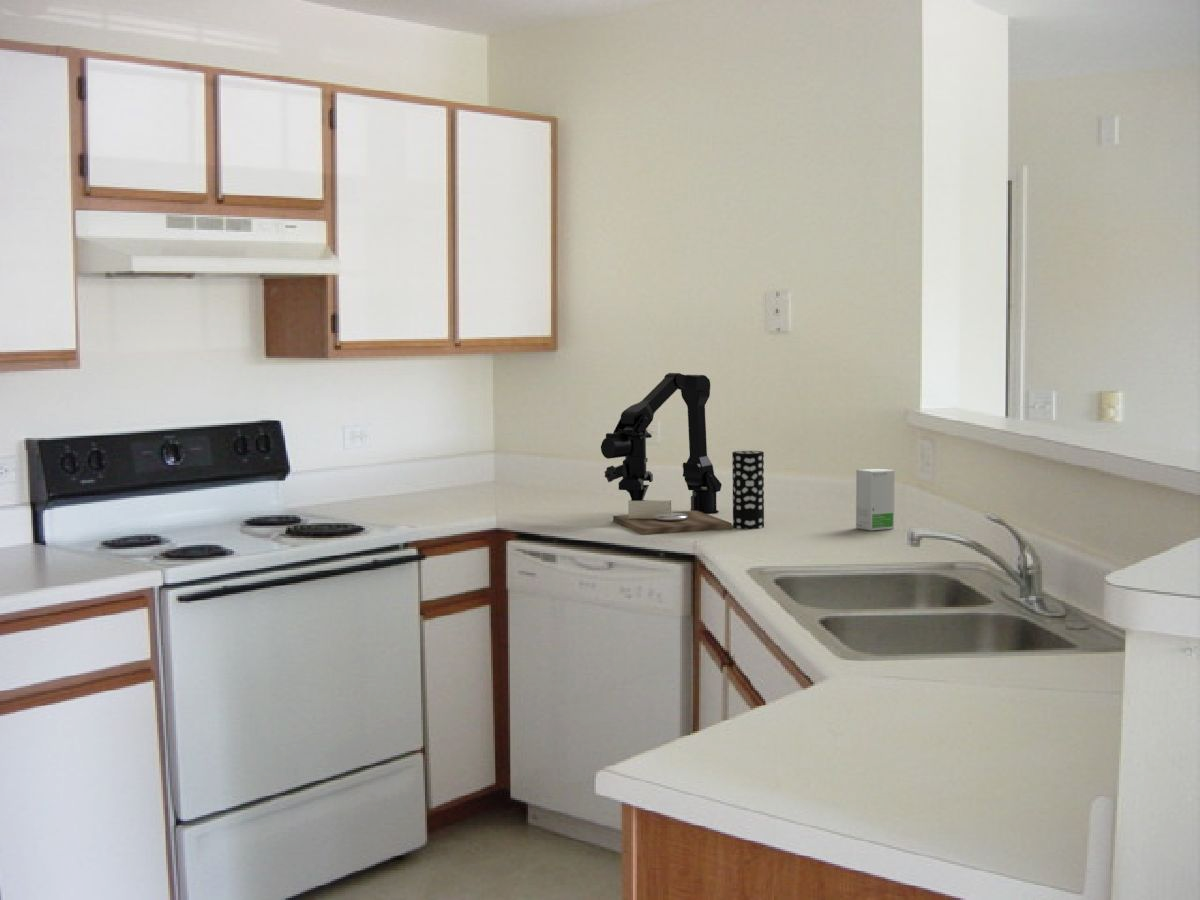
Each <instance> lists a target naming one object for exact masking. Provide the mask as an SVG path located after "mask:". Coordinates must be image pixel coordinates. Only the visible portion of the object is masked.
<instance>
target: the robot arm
mask: <svg viewBox="0 0 1200 900" xmlns="http://www.w3.org/2000/svg"><path fill="white" fill-rule="evenodd" d="M678 390H680V393H681V397H682V400H683V401H684V403H685V405H686V408H687V422H688V425H687V426H688V445H689V446H688V447H689V449H688V450H689V457H688V459H687V461H686V462H685V461H683V462H682V477H683V479H684V481H685V483H686V486H687V490H688V491H691V492H692V495H691V496H690V510H689V511H700V512H702V513H705V514H714V513H719V512H720V511H719V509H718V510H717V493H718V492H721V489H722V486H723V485H722V483H721V481H720V480H719V479H718V478H717V476H716V475H715V471H714V465H713V463H712V462H711V460H710V458H709V455H708V447H707V426H706V424H707V423H706V405H707V402H708V400H709V398H710V396H711V380H710V378H709V377H708V376H707V375H705V374H682V373H680V372H668V373H667V374H665V376H664V377H663V379H662V380H661V381H660V382H659V383H658V384H657V385H656V386H654V388H653V389H652V390H651V391H650V392H649V393H648V394H647V395H646V396H645V397H643V399H641V400H640V401H639V402H637V403H634V404H632V405H630V406H628V407H627V408H626V409H625V410H623V411H622V412H621V414H620V418H619V420H618V422H617V424H616V426H615V429H614V430H613V432H612V433H611V432H607V433H606V434H605V438H604V439H603V440H602V441H601V445H600V451H601V453H602V456H603V457H604V458H605V459H607V460H610V459H617V458H624V459H623V460H622V464H619V465H617V466H614V465H609V466H607V467H606V470H605V471H604V474H605V475H604V478H606V480H607V483H611V482H613V481H614V480H617V479H619V478H620V479H621V478H622V479H621V480H620V481H619V482H618V490H619V491H626V492H627V493H629V494H628V495H629V496H630V500H645V496H646V493H647V491H648V489H649V484H644V482H646V481H647V482H648V483H652V482H653V481H654V475H653V473H652V471H649V470H647V463H648V457H647V439H649V438H652V437H653V436H652V434H651V433H650V432H648V430H647V429H648V427H649V426H650V425H651V424H652V422H653V420H654V415H655V413H656V412H657V410H659V408H661V406H663V404H665V402H667V400H669V398H670V397H671V396H673V394H675V393H676V391H678Z"/></svg>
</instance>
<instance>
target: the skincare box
mask: <svg viewBox="0 0 1200 900" xmlns="http://www.w3.org/2000/svg"><path fill="white" fill-rule="evenodd" d="M855 473H856V478H855V479H856V480H855V482H856V485H855V486H856V488H855V490H856V491H855V492H856V493H855V497H856V498H855V500H856V501H855V508H856V509H855V528H856V529H860V530H864V531H869V532H870V531H881V530H882V531H883V530H893V529H895V469H883V468H866V469H865V468H864V469H856V470H855Z"/></svg>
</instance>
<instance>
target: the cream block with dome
mask: <svg viewBox="0 0 1200 900" xmlns="http://www.w3.org/2000/svg"><path fill="white" fill-rule="evenodd" d="M627 502H628V510H627V511H628V515H629V518H641V519H656V520H662V521H678V520H685V519H687V518H688V515H687V514H682V513H671V512H672V500H669V499H668V500H667V499H654V500H653V499H643V500H631V499H628V500H627Z"/></svg>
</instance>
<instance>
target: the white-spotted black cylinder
mask: <svg viewBox="0 0 1200 900" xmlns="http://www.w3.org/2000/svg"><path fill="white" fill-rule="evenodd" d="M764 453H765V452H764V451H761V450H737V451H736V450H735V451H733V452H732V453H731V454H732V527H733V528H735V529H742V530H757V529H762V528H765V475H764V474H765V467H764V466H765V459H764V458H765V455H764Z"/></svg>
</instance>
